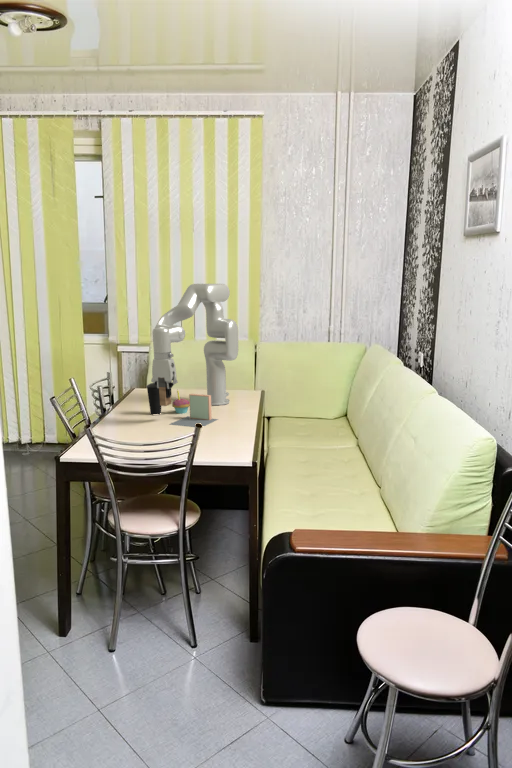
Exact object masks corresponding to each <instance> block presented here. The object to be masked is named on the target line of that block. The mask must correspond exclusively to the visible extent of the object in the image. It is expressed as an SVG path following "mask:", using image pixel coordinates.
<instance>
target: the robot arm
mask: <svg viewBox="0 0 512 768" xmlns="http://www.w3.org/2000/svg"><path fill="white" fill-rule="evenodd" d="M229 298H230V288H229V286H228V285H227V284H225V283H193V284H191V283H190V285H188V286H187V288H186V290H185V292H184V293H183V295H182V297H181V299H180V300H179V301H178V303H177V305H176V306H174V307H173V308H171V309H170V310H168V311H166V312H165V313H164V314H163V315H162V316H161V317H160V318H159V320H158V321H157V322H156V325H155V327H154V328H153V329H152V347H153V359H152V364H151V365H152V366H151V367H152V368H151V376H152V377H151V382H150V383H155V385H156V386H157V388H158V391H159V386H158V377H160V378H163V377H164V379H165V382H166V386H167V389H166V397H167V398H169V397H171V398H172V388H173V386H175V385H177V384H178V383H179V381H178V380H177V369H176V364H175V360H174V358H173V357H174V353H172V346H171V345H172V344H171V343H180V342H182V341H183V340H184V339H185V337H186V330H185V329H184V327H182V326H180V325H177V323H180V322H182V321H185V320H188V319H191V318H192V317H193V316H194V315H195V313H196V311H197V309H198V307H199V306H200V304H201V303H202V304H203V306H204V309H205V313H206V314H205V320H206V322H205V323H206V326H205V327H206V335H207V336H208V337H210V338H212V339H214V340H209V341H206V343H205V344H204V346H203V354H204V355H203V356H204V359H205V367H206V368H205V369H206V370H205V371H206V395H211V406H223V405H228V404H229V403H230V399H229V398H227V397H228V396H229V395H230V393H229V392H227V384H226V383H227V381H226V379H227V378H226V366H225V363H224V362H223V361H226V362H227V361H235V360H236V359H237V357H238V355H239V327H238V324H237V321H235V319H231V318H224V307H223V305H222V303H223V302H226V301H227V300H228V299H229ZM215 339H225V340H215ZM159 397H160V396H159Z"/></svg>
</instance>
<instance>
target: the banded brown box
mask: <svg viewBox="0 0 512 768" xmlns="http://www.w3.org/2000/svg"><path fill="white" fill-rule="evenodd" d="M158 386H159V396H160V406H161V407H167V406H169V405H172V396H171V397H169V398H167V397H166V389H167V386H166V382H165V379H164V377H163V378H160V377H158Z"/></svg>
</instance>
